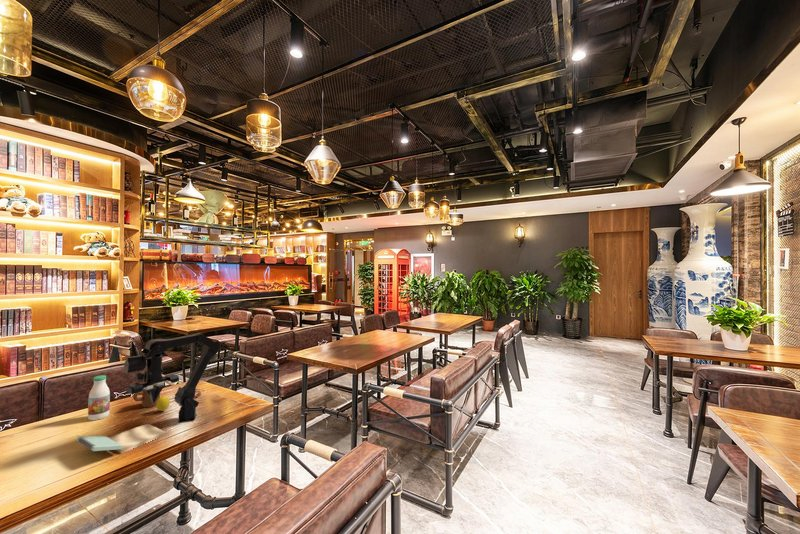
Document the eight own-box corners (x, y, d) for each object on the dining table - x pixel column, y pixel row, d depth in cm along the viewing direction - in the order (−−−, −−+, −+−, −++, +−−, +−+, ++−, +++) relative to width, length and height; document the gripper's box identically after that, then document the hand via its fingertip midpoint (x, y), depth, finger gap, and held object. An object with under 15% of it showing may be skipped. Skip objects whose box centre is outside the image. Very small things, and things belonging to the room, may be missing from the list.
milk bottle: (84, 419, 154) (85, 377, 154) (104, 412, 161) (105, 373, 162) (93, 422, 151) (94, 380, 151) (112, 415, 158) (113, 375, 159)
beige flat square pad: (147, 426, 148) (147, 423, 148) (165, 435, 140) (166, 432, 140) (103, 442, 134) (103, 439, 134) (120, 453, 126) (120, 449, 126)
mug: (136, 412, 162) (137, 393, 162) (128, 409, 165) (129, 391, 165) (162, 403, 173) (163, 386, 173) (154, 401, 176) (155, 384, 176)
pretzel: (171, 401, 177) (172, 394, 177) (183, 393, 188) (183, 387, 188) (194, 400, 178) (194, 394, 178) (204, 393, 189) (204, 387, 189)
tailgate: (104, 434, 134) (77, 435, 127) (122, 445, 126) (95, 446, 119) (102, 439, 133) (75, 440, 126) (120, 449, 126) (92, 451, 119)
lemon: (160, 409, 166) (161, 393, 166) (171, 409, 167) (172, 393, 167) (153, 414, 161) (153, 398, 161) (165, 413, 161) (165, 397, 161)
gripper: (167, 360, 156) (166, 392, 156) (120, 370, 140) (119, 405, 140) (180, 363, 151) (179, 396, 151) (132, 374, 135) (131, 411, 134)
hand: (153, 402), depth 144 cm, fingers closed
